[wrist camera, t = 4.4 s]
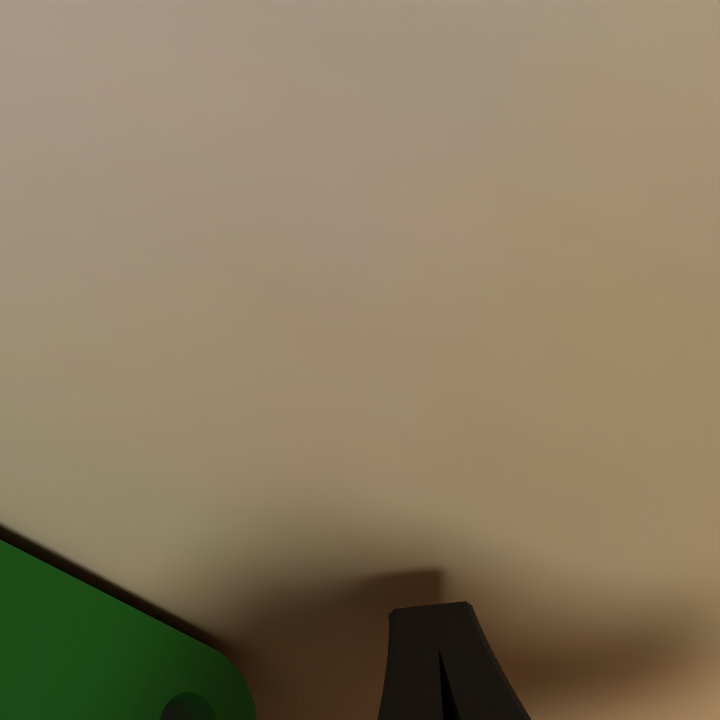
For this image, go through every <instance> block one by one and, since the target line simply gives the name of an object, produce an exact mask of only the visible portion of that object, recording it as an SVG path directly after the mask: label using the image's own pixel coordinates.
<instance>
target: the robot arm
mask: <svg viewBox="0 0 720 720" xmlns="http://www.w3.org/2000/svg"><path fill="white" fill-rule="evenodd" d="M378 720H531V718H530V717H529V715H528V713H527V712H526V710H525V708H524V707H523V705H522V704H521V702H520V700H519V699H518V697H517V695H516V694H515V692H514V690H513V688H512V687H511V685H510V683H509V681H508V680H507V678H506V676H505V674H504V672H503V671H502V669H501V667H500V665H499V663H498V661H497V659H496V657H495V656H494V654H493V652H492V650H491V648H490V646H489V644H488V642H487V640H486V637H485V635H484V633H483V631H482V629H481V626H480V624H479V622H478V620H477V617H476V615H475V612H474V609H473V607H472V605H470V604H469V603H467V602H466V601H465V602H456V603H446V604H437V605H427V606H417V607H408V608H398V609H394V610H393V611H392V612H391V613H390V614H389V646H388V657H387V666H386V673H385V681H384V688H383V694H382V699H381V704H380V709H379V715H378Z"/></svg>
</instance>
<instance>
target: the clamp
mask: <svg viewBox="0 0 720 720" xmlns="http://www.w3.org/2000/svg"><path fill="white" fill-rule="evenodd" d="M0 720H256V712H255V707H254V703H253V700H252V696H251V693H250V691H249V688H248V686H247V684H246V682H245V680H244V678H243V677H242V675H241V673H240V672H239V671H238V669H237V668H236V667H235V666H234V665H233V663H232V662H231V661H230V660H229V659H227V658H226V657H225V656H224V655H223V654H221V653H220V652H218V651H217V650H215V649H213V648H211V647H209V646H207V645H205V644H203V643H201V642H199V641H197V640H195V639H194V638H192V637H190V636H188V635H186V634H184V633H182V632H180V631H178V630H176V629H174V628H172V627H170V626H168V625H166V624H164V623H162V622H160V621H158V620H156V619H154V618H152V617H150V616H149V615H147V614H145V613H143V612H141V611H139V610H137V609H135V608H133V607H131V606H129V605H127V604H125V603H123V602H121V601H119V600H117V599H115V598H113V597H111V596H109V595H107V594H106V593H104V592H102V591H100V590H98V589H96V588H94V587H92V586H90V585H88V584H86V583H84V582H82V581H80V580H78V579H76V578H74V577H72V576H70V575H68V574H66V573H64V572H62V571H61V570H59V569H57V568H55V567H53V566H51V565H49V564H47V563H45V562H43V561H41V560H39V559H37V558H35V557H33V556H31V555H29V554H27V553H25V552H23V551H21V550H19V549H18V548H16V547H14V546H12V545H10V544H8V543H6V542H4V541H2V540H0Z"/></svg>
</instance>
